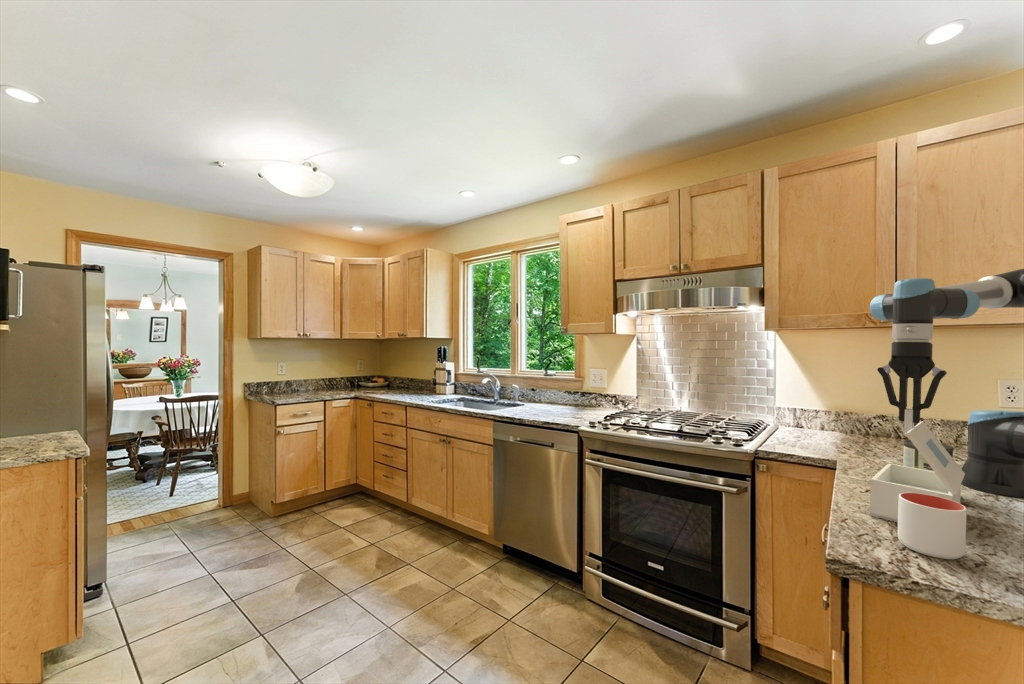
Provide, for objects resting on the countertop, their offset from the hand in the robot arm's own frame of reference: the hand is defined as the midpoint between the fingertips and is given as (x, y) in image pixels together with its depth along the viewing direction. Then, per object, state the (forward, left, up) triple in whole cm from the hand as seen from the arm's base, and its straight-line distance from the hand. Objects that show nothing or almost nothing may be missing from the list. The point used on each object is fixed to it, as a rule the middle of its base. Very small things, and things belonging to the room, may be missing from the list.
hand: (908, 435), depth 108 cm
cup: (+15, +18, -20) cm, 31 cm away
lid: (-3, +4, -4) cm, 6 cm away
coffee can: (-19, -12, -20) cm, 30 cm away
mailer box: (-1, +1, -19) cm, 19 cm away
